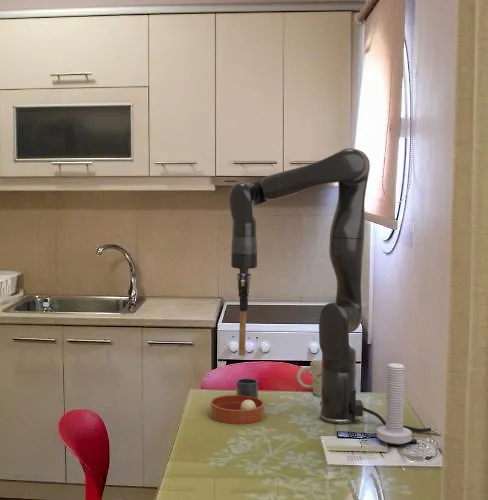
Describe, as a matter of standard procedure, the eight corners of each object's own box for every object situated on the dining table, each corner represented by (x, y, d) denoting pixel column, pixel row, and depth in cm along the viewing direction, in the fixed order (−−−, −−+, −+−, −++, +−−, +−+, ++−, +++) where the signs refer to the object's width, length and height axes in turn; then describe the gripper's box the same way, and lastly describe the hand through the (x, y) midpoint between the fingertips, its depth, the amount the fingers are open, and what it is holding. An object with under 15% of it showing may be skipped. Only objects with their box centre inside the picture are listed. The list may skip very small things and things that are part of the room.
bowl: (265, 410, 202) (265, 396, 201) (262, 427, 187) (263, 412, 186) (213, 407, 204) (213, 393, 204) (207, 424, 189) (207, 409, 189)
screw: (400, 435, 181) (402, 360, 179) (418, 447, 172) (420, 368, 171) (370, 438, 179) (372, 361, 177) (387, 449, 170) (389, 369, 169)
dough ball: (246, 398, 199) (251, 394, 195) (255, 411, 198) (261, 407, 194) (235, 407, 197) (240, 403, 193) (244, 420, 196) (250, 416, 192)
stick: (244, 354, 205) (246, 294, 204) (245, 355, 203) (247, 294, 202) (238, 354, 205) (240, 294, 204) (239, 355, 203) (241, 294, 202)
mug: (336, 398, 214) (337, 366, 214) (295, 396, 217) (296, 364, 216) (336, 391, 222) (337, 360, 222) (297, 389, 225) (297, 358, 224)
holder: (258, 401, 211) (258, 378, 210) (257, 407, 204) (257, 384, 204) (237, 400, 212) (237, 378, 211) (235, 406, 205) (235, 383, 205)
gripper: (233, 249, 209) (232, 306, 211) (229, 253, 196) (229, 313, 197) (258, 250, 208) (257, 307, 210) (256, 253, 195) (255, 314, 196)
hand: (243, 310), depth 203 cm, fingers closed on stick, 2 cm apart
